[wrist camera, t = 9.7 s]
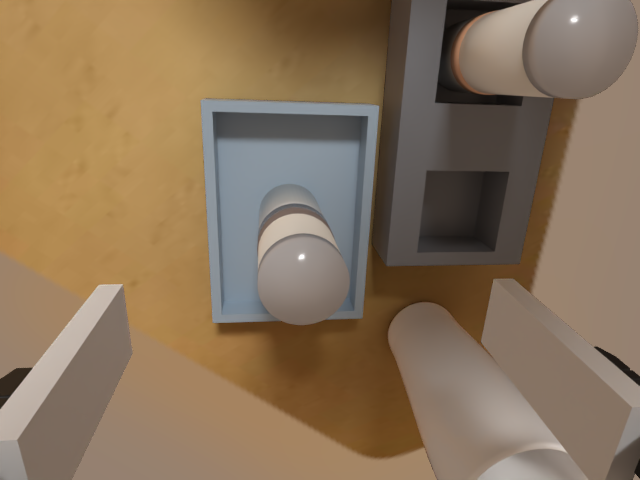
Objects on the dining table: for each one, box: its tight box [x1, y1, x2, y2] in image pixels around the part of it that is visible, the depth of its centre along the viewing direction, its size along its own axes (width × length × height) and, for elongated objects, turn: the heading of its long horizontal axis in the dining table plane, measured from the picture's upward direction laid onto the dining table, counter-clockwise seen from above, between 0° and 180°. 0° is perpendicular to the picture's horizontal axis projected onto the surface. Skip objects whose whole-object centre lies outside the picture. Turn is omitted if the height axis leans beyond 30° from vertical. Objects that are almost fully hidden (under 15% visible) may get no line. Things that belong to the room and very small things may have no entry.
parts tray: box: [201, 98, 379, 323], centre depth 28 cm, size 14×10×2 cm
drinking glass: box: [388, 302, 588, 480], centre depth 27 cm, size 7×7×15 cm
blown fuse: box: [257, 184, 350, 325], centre depth 24 cm, size 4×4×11 cm
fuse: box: [438, 0, 638, 99], centre depth 22 cm, size 4×4×11 cm
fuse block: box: [372, 0, 554, 266], centre depth 27 cm, size 16×9×4 cm, turn 178°
